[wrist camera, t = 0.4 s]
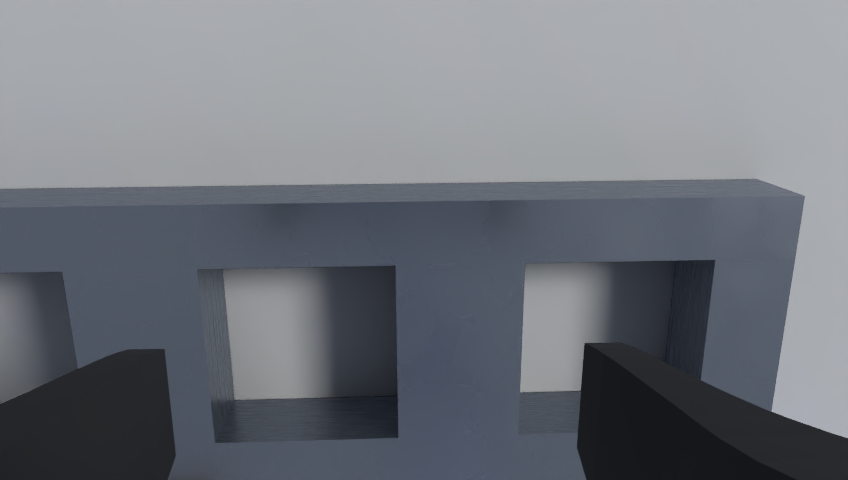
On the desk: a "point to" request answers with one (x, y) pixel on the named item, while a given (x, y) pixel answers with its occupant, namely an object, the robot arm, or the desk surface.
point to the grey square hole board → (406, 307)
